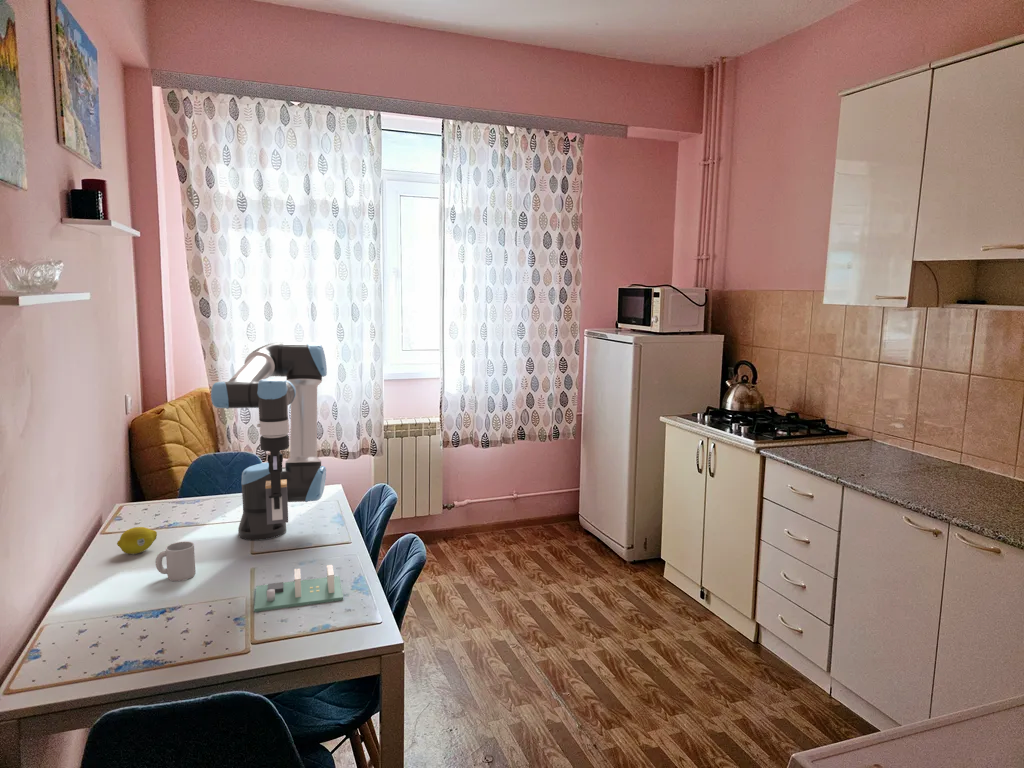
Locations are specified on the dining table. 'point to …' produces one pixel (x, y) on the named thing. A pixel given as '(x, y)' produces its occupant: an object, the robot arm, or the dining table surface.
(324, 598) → the board
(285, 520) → the plug
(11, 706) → the dining table surface
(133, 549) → the lemon
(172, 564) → the cup
